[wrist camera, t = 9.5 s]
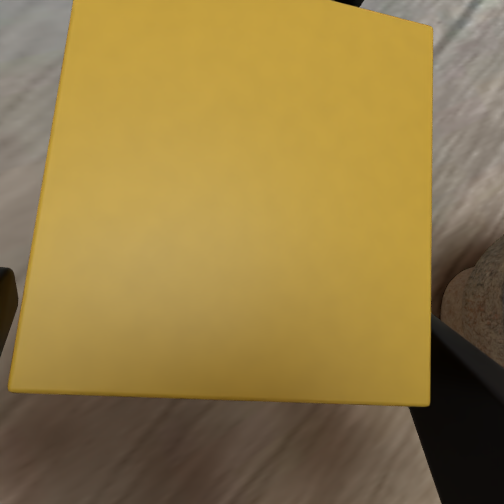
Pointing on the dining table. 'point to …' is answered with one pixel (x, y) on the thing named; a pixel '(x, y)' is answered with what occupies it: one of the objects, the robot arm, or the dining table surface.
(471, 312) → the pottery
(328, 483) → the dining table surface
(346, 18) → the storage box
